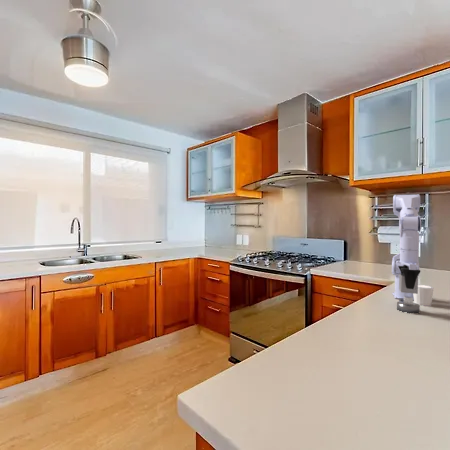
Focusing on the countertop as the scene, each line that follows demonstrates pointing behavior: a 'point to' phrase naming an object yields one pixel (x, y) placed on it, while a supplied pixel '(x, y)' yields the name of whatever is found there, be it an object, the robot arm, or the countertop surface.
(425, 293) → the shot glass
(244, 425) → the countertop surface
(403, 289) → the socket
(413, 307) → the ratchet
